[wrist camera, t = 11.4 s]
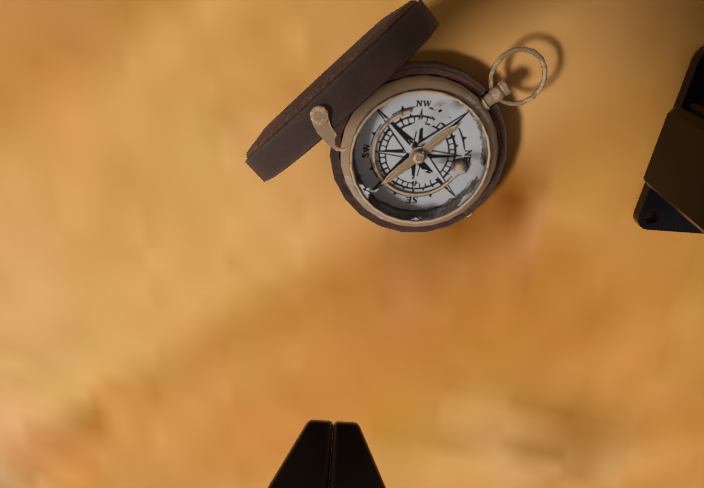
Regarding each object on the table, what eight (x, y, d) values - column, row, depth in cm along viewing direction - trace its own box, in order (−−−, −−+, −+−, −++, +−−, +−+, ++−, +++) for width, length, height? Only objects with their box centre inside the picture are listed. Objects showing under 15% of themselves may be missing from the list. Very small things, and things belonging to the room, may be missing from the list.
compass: (405, 251, 21) (421, 382, 15) (263, 103, 18) (208, 187, 12) (583, 123, 18) (698, 218, 12) (449, -75, 15) (506, -89, 9)
